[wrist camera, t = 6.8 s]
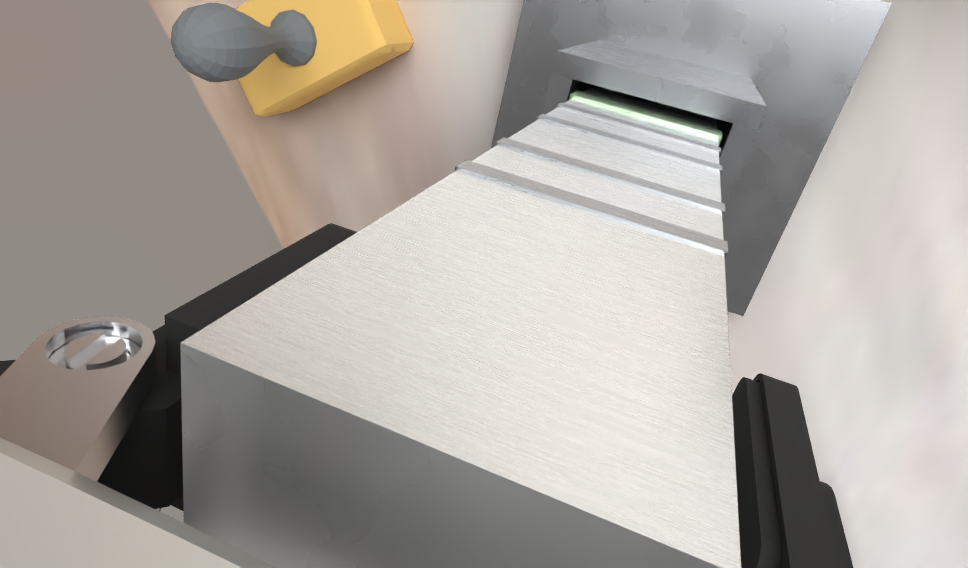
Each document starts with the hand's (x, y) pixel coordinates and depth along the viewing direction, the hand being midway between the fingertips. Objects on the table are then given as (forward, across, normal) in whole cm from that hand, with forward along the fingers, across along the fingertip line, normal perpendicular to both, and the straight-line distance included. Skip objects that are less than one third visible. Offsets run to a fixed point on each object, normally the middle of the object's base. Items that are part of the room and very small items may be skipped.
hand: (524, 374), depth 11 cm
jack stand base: (+26, 0, 0) cm, 26 cm away
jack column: (+17, 0, 0) cm, 17 cm away
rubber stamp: (+27, +20, 0) cm, 33 cm away
